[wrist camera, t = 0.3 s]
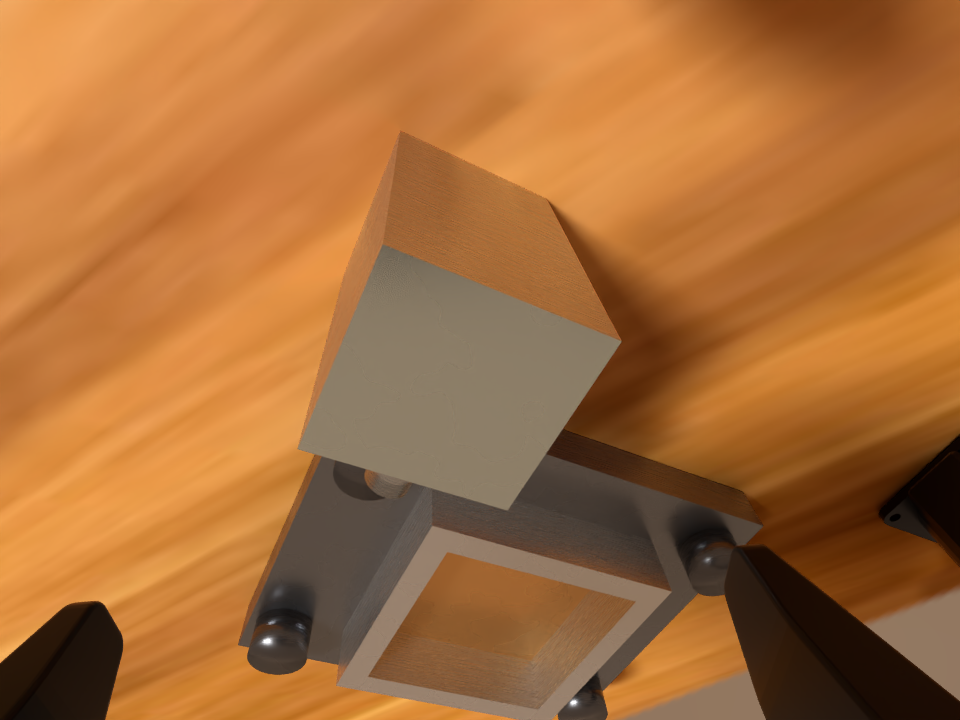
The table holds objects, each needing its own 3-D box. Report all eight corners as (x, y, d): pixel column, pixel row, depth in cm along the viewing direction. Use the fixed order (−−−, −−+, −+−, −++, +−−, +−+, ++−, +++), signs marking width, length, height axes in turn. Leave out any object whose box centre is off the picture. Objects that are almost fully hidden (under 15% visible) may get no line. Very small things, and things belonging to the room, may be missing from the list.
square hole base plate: (742, 491, 28) (793, 575, 24) (574, 675, 34) (592, 763, 31) (356, 358, 22) (342, 437, 19) (248, 606, 29) (222, 700, 25)
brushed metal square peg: (546, 198, 20) (621, 341, 12) (461, 357, 23) (479, 551, 15) (400, 130, 18) (382, 243, 11) (330, 309, 21) (277, 497, 14)
